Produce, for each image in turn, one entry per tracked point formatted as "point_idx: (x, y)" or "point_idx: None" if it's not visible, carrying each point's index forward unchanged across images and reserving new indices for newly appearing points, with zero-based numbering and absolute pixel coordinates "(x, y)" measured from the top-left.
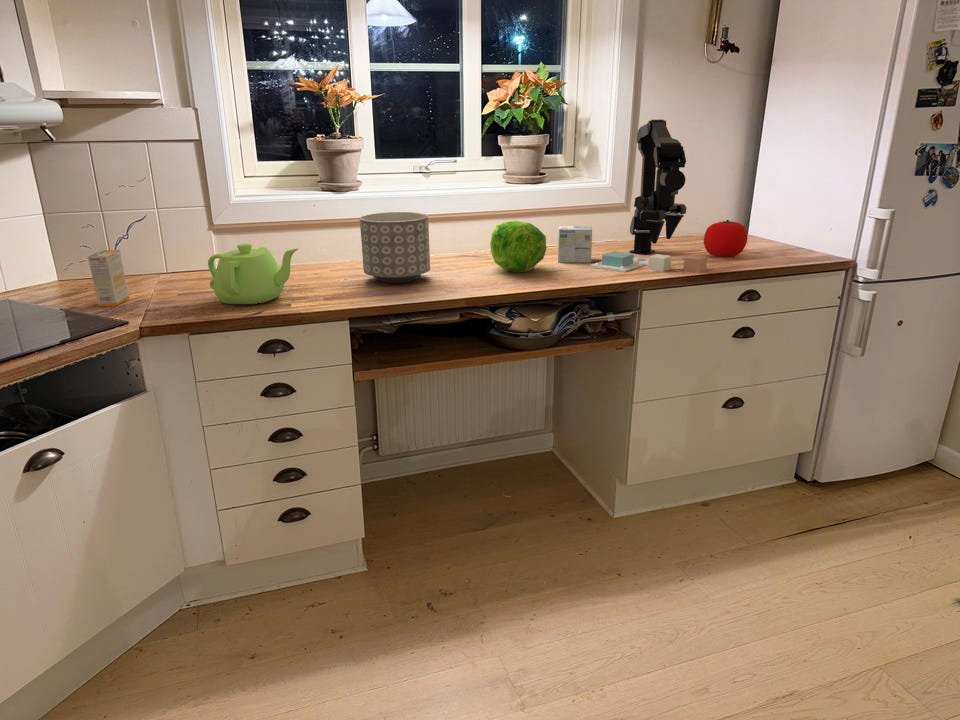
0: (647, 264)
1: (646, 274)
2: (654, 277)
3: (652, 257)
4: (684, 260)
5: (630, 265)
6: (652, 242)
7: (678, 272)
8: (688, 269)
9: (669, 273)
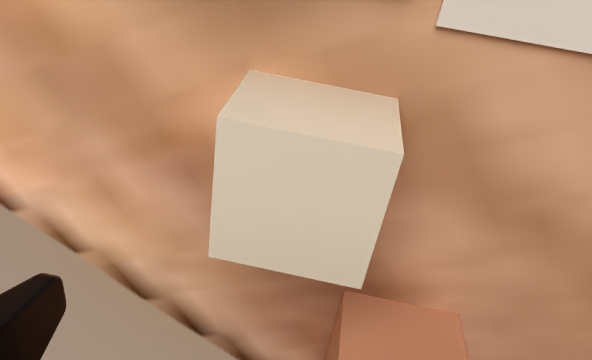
0: (439, 11)
1: (77, 110)
2: (39, 179)
3: (216, 154)
4: (339, 349)
5: None
6: (34, 279)
7: (267, 275)
8: (335, 324)
9: (207, 235)
